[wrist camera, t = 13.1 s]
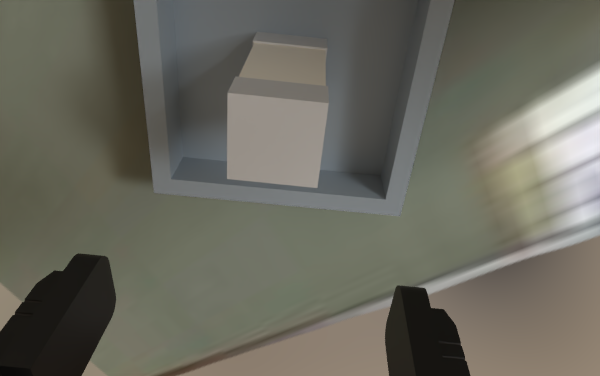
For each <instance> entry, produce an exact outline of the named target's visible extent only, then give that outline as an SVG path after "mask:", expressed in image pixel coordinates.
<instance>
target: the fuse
mask: <svg viewBox="0 0 600 376" xmlns="http://www.w3.org/2000/svg"><path fill="white" fill-rule="evenodd" d="M326 56H327V39H323V38H313V37H304V36H294V35H285V34H276V33H266V32H257V33H256V35H255V37H254V39H253V47H252V49H251V51H250V53H249V55H248V58H247V60H246V62H245V64H244V66H243V68H242V70H241V73H240V75H239V77H235V78H234V80H233V83H232V85H231V87H230V89H229V91H228V100H227V179H233V180H242V181H252V182H262V183H272V184H282V185H292V186H301V187H311V188H317V187H318V179H319V172H320V165H321V157H322V150H323V142H324V135H325V127H326V120H327V113H328V105H329V93H328V86H326Z"/></svg>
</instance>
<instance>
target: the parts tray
mask: <svg viewBox="0 0 600 376" xmlns="http://www.w3.org/2000/svg"><path fill="white" fill-rule="evenodd" d="M454 2H455V0H134V9H135V19H136V28H137V38H138V47H139V56H140V66H141V75H142V85H143V94H144V103H145V113H146V122H147V131H148V141H149V150H150V160H151V169H152V178H153V188H154V193H160V194H170V195H181V196H192V197H202V198H213V199H223V200H234V201H245V202H255V203H266V204H276V205H287V206H298V207H308V208H319V209H329V210H340V211H350V212H361V213H372V214H382V215H393V216H400V215H401V211H402V207H403V203H404V199H405V195H406V192H407V188H408V184H409V180H410V176H411V172H412V168H413V164H414V160H415V156H416V152H417V148H418V144H419V140H420V136H421V132H422V128H423V124H424V120H425V116H426V112H427V108H428V104H429V100H430V97H431V93H432V89H433V85H434V81H435V77H436V73H437V69H438V65H439V61H440V57H441V53H442V49H443V45H444V41H445V37H446V33H447V29H448V25H449V21H450V17H451V13H452V9H453V6H454ZM257 32H266V33H276V34H285V35H294V36H304V37H313V38H323V39H327V56H326V86H328V93H329V105H328V113H327V120H326V127H325V135H324V142H323V150H322V157H321V165H320V172H319V179H318V187H317V188H311V187H301V186H292V185H282V184H272V183H262V182H252V181H242V180H233V179H227V100H228V91H229V89H230V87H231V85H232V83H233V80H234V78H235V77H239V75H240V73H241V70H242V68H243V66H244V64H245V62H246V60H247V58H248V55H249V53H250V51H251V49H252V47H253V39H254V37H255V35H256V33H257Z"/></svg>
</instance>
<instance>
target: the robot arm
mask: <svg viewBox="0 0 600 376" xmlns="http://www.w3.org/2000/svg"><path fill="white" fill-rule="evenodd" d="M115 303H116V294H115V289H114V284H113V279H112V274H111V269H110V264H109V260H108V258H107V257H106V256H99V255H89V254H76V255H75V256H74V257H73V258H72V260H71V261H70V262H69V264H68V265H67V267H66V268H65V269H64V271H53V272H52V273H51V274H49V275H48V276H46V277H45V278H44V279H42V280H41V281H39V282H38V283H37V284H36V285H35V286H34V288H33V289H32V290H31V292H30V293H29V294H28V296H27V297H26V298H25V302H22V304H21V305H20V306H19V308H18V309H17V310H16V312H15V315H13V316H12V317H11V318H10V320H9V321H8V322H7V324H6V325H5V326H4V328H3V329H2V330H1V331H0V376H82V374H83V372H84V370H85V368H86V366H87V364H88V362H89V360H90V358H91V356H92V355H93V353H94V351H95V349H96V347H97V345H98V343H99V341H100V339H101V337H102V335H103V333H104V331H105V329H106V327H107V326H108V324H109V322H110V320H111V318H112V315H113V313H114V309H115ZM385 345H386V353H387V362H388V370H389V376H470V373H469V369H468V366H467V362H466V361H465V356H464V352H463V349H462V346H461V342H460V338H459V335H458V331H457V328H456V325H455V324H454V322H453V321H452V320H451V318H450V317H449V316H448V314H447V313H446V312H445V310H443V309H435V308H431V307H430V303H429V299H428V294H427V291H426V289H425V288H419V287H409V286H397V287H396V289H395V293H394V297H393V300H392V304H391V308H390V312H389V315H388V319H387V323H386V332H385Z"/></svg>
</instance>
